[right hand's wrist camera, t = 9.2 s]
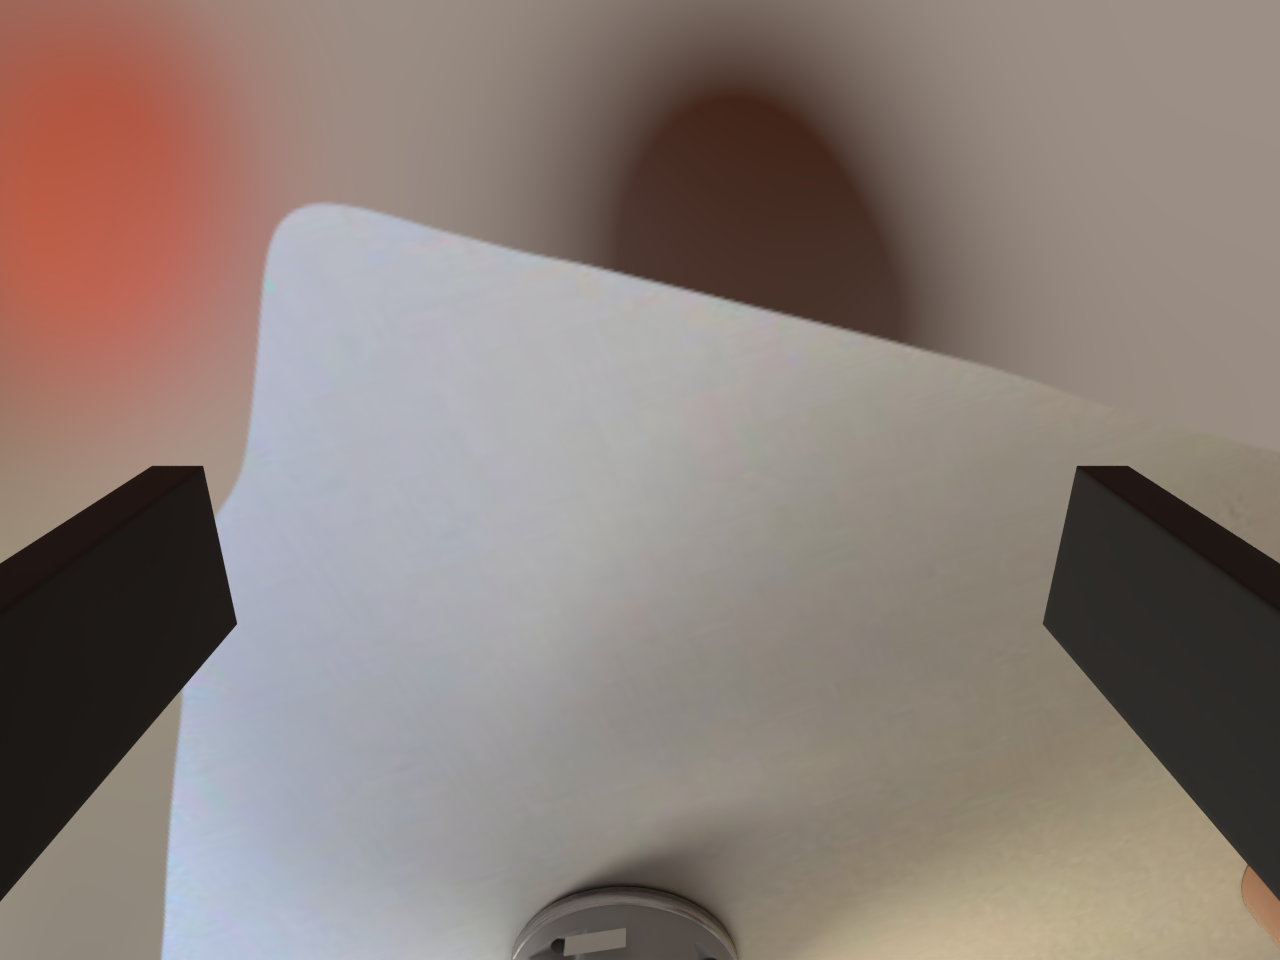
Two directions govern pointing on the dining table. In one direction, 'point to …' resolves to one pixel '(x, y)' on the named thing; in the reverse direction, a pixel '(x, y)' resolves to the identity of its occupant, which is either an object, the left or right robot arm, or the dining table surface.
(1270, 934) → the jar
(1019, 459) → the dining table surface
